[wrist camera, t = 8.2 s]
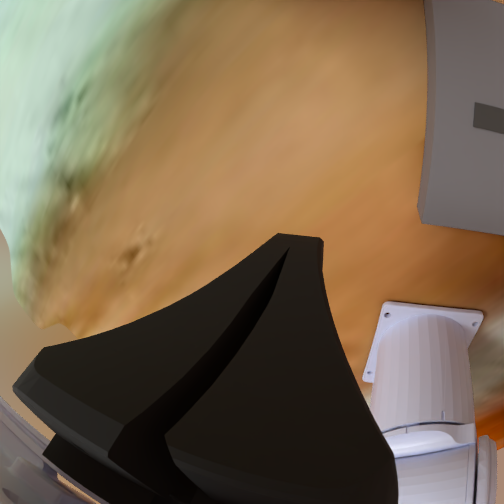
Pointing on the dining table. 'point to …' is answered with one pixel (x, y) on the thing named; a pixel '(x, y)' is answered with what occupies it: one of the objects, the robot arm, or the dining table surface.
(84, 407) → the robot arm
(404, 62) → the dining table surface
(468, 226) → the console
